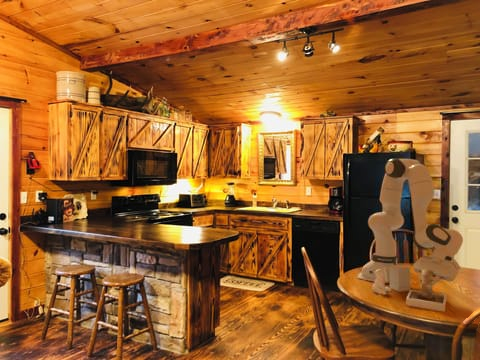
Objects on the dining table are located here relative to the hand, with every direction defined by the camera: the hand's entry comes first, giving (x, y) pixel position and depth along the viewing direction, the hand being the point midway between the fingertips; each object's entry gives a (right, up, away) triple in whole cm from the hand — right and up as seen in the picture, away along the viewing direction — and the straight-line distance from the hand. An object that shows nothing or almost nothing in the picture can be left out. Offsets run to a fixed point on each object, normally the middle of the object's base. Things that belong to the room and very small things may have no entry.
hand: (426, 282), depth 179 cm
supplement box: (-3, -10, +23) cm, 25 cm away
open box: (0, -10, +1) cm, 10 cm away
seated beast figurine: (-14, -10, +19) cm, 26 cm away
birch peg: (+1, -7, 0) cm, 7 cm away
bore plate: (0, -10, +1) cm, 10 cm away
